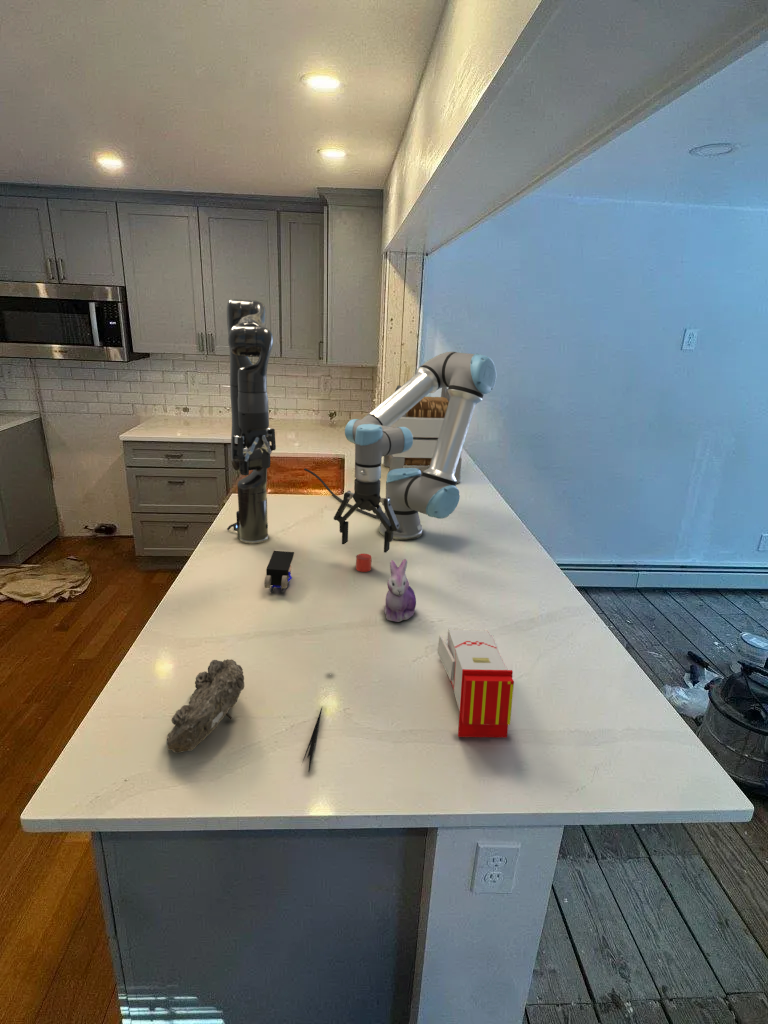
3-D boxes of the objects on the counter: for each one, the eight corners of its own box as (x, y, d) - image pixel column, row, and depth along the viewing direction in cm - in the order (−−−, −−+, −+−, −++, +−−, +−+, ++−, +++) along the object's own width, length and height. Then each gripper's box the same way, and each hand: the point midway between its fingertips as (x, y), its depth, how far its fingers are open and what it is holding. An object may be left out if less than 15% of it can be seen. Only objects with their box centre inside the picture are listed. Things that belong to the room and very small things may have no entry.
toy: (488, 613, 130) (523, 677, 101) (484, 667, 133) (517, 744, 104) (435, 612, 130) (455, 676, 101) (432, 666, 133) (451, 743, 103)
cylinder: (353, 567, 173) (353, 555, 171) (366, 564, 175) (366, 552, 174) (360, 573, 169) (361, 560, 168) (373, 570, 172) (374, 558, 170)
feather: (331, 679, 122) (336, 673, 122) (307, 777, 96) (313, 769, 95) (324, 675, 122) (329, 669, 121) (298, 772, 95) (304, 764, 95)
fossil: (192, 660, 117) (244, 628, 112) (224, 691, 120) (276, 661, 115) (142, 746, 98) (202, 712, 93) (182, 779, 101) (242, 748, 96)
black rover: (288, 601, 154) (295, 571, 167) (287, 577, 151) (294, 549, 164) (263, 600, 154) (272, 570, 167) (262, 576, 150) (271, 548, 164)
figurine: (392, 627, 141) (395, 572, 136) (374, 608, 149) (376, 556, 144) (425, 619, 145) (429, 566, 140) (405, 601, 154) (408, 550, 149)
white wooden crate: (382, 463, 289) (386, 382, 275) (445, 464, 293) (451, 384, 279) (390, 482, 257) (394, 392, 243) (460, 483, 261) (468, 394, 247)
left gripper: (259, 404, 151) (261, 463, 156) (222, 411, 139) (225, 475, 144) (282, 407, 147) (283, 467, 153) (246, 414, 135) (248, 480, 141)
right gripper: (322, 476, 164) (322, 543, 171) (404, 488, 155) (400, 559, 163) (334, 469, 170) (333, 535, 177) (412, 481, 162) (408, 549, 169)
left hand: (255, 471), depth 149 cm, fingers open, 8 cm apart
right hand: (365, 546), depth 170 cm, fingers open, 13 cm apart
